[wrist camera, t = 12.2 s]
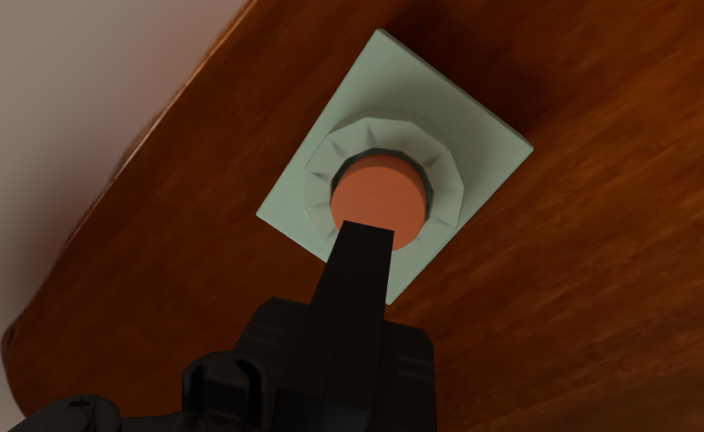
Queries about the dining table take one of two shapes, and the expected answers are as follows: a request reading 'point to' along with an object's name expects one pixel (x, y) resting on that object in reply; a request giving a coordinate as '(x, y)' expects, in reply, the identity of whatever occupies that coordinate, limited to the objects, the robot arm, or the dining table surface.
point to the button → (381, 197)
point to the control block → (397, 153)
